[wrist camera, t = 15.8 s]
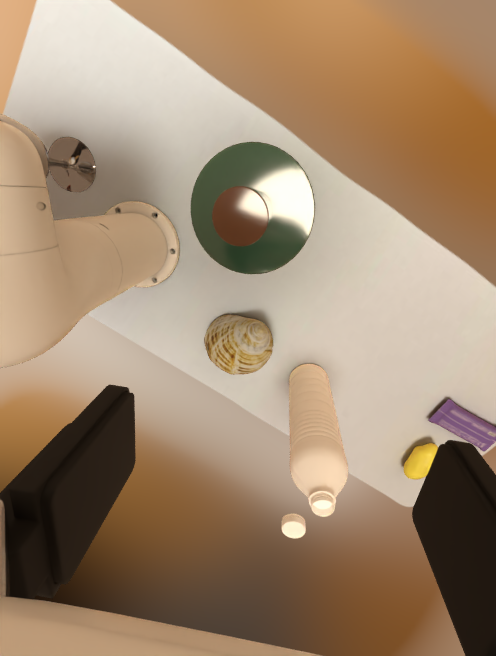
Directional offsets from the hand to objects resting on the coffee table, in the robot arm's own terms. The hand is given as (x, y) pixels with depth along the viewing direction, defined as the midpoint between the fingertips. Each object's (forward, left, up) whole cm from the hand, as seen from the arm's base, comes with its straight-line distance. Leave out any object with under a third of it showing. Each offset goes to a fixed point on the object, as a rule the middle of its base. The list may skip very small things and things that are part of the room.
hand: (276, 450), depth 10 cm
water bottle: (+6, -21, -42) cm, 47 cm away
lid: (-3, +6, -15) cm, 16 cm away
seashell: (-5, -14, -42) cm, 44 cm away
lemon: (+28, -32, -41) cm, 59 cm away
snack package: (+33, -26, -40) cm, 58 cm away
